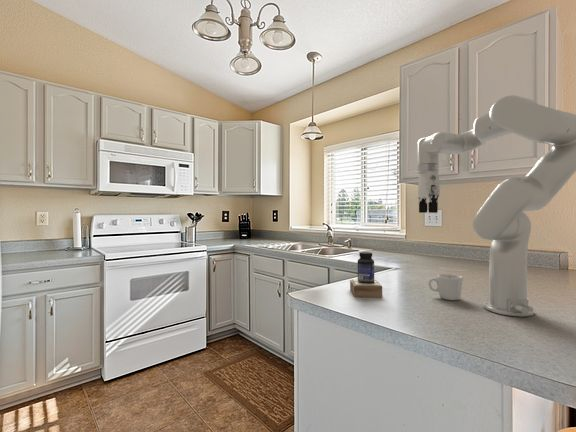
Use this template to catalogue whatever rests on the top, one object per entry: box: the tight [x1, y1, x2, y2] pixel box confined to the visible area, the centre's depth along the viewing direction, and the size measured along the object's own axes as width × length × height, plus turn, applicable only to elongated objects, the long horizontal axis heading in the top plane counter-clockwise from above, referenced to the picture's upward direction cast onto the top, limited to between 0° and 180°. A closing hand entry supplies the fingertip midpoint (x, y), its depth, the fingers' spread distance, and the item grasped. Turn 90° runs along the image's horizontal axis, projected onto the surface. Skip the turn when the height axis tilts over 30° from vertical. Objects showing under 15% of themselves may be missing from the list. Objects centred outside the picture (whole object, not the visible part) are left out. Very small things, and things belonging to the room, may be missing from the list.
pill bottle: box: [357, 251, 375, 284], centre depth 115 cm, size 6×6×11 cm
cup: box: [428, 273, 464, 301], centre depth 108 cm, size 11×8×8 cm
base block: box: [349, 279, 383, 298], centre depth 115 cm, size 10×10×4 cm
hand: (427, 212), depth 121 cm, fingers open, 9 cm apart
